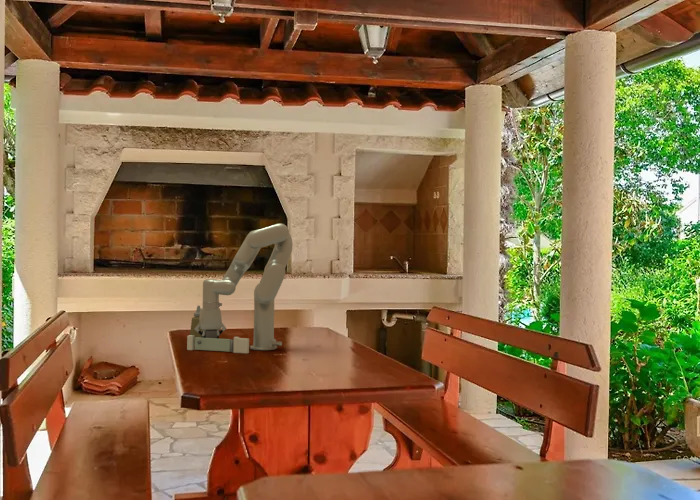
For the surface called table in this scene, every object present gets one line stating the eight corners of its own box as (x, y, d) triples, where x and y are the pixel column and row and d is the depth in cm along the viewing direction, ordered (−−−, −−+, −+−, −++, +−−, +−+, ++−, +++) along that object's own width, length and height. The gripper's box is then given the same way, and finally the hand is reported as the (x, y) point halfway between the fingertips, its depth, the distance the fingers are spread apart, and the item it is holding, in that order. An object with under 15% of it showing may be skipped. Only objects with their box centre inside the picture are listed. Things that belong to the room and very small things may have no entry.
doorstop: (214, 346, 358) (214, 329, 358) (217, 348, 351) (217, 331, 351) (203, 346, 356) (203, 329, 356) (206, 348, 349) (206, 331, 349)
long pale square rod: (233, 351, 346) (233, 339, 346) (231, 352, 344) (231, 340, 344) (195, 349, 350) (196, 337, 350) (193, 349, 348) (193, 337, 348)
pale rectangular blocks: (249, 352, 345) (249, 337, 345) (247, 353, 342) (247, 338, 342) (189, 349, 352) (189, 334, 352) (186, 349, 349) (187, 334, 349)
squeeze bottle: (208, 340, 380) (208, 305, 380) (203, 343, 372) (204, 306, 372) (192, 340, 381) (193, 304, 380) (187, 342, 373) (188, 306, 372)
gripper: (227, 304, 360) (226, 342, 360) (191, 305, 354) (190, 344, 354) (230, 306, 353) (229, 344, 353) (193, 306, 347) (193, 346, 347)
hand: (210, 344), depth 353 cm, fingers closed on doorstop, 5 cm apart
